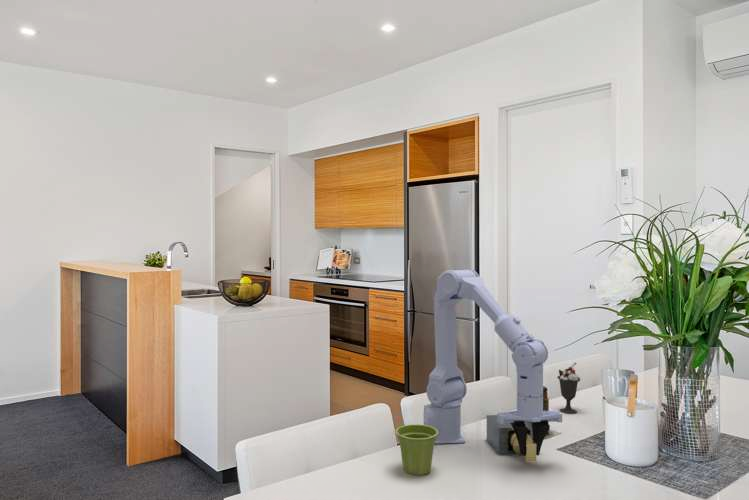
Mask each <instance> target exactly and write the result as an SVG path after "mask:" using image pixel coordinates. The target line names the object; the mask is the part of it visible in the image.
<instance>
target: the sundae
mask: <svg viewBox="0 0 749 500" xmlns="http://www.w3.org/2000/svg"><path fill="white" fill-rule="evenodd" d="M575 365H577V363H576V362H574V363H573V364H571V366H569V367H568V368H565V369H564V370H561V369H558V374H559V375H557V377H556V378H557V379H558V380H559V385H560V393H561V397H563V399H565V400H566V402H565V403H566V405H565V407H563V408H561V409H559V412H560V413H562V414H566V415H567V414H569V415H575V414H577V413H578V411H577V410H575V409H574V408H572V407H571V406H572V405H571V401H572V400H573V399H574V398H575V397H576V396H577V395H576V394H577V391H578V390H577V389H578V383H579V382H580V381H581V378H580V376H579V377H578V375H577V373H576V370H575V369H574V366H575Z"/></svg>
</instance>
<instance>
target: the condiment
mask: <svg viewBox="0 0 749 500" xmlns="http://www.w3.org/2000/svg"><path fill="white" fill-rule="evenodd" d="M549 401H550V400H549V396H548V387H546V386H544V385H543V411H550V410H549V407H550V405H549V404H550V402H549ZM549 423H550V422H548V424H549ZM549 425H550V424H549ZM559 434H561V432H559V431H556V430H553V429H551V428H550V429H549V431H548V433H547V434H546V436H545V438H544V439H549V438H551V437H554V436H557V435H559Z"/></svg>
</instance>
